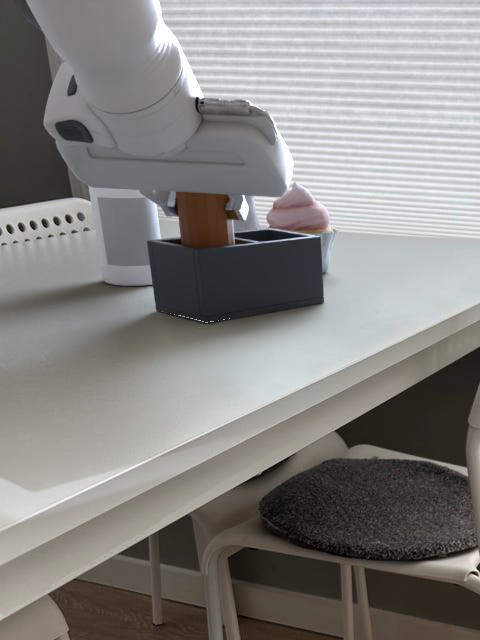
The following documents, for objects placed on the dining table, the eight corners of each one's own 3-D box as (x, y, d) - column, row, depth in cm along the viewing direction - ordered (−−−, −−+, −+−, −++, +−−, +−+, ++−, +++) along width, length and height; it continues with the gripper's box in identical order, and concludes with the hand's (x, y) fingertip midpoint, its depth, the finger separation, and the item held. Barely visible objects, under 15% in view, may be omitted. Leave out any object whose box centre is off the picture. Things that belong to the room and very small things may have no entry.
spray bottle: (132, 289, 104) (104, 101, 95) (90, 281, 107) (60, 98, 98) (179, 281, 109) (157, 102, 100) (138, 273, 112) (113, 99, 103)
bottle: (178, 302, 95) (158, 133, 88) (218, 296, 99) (202, 133, 91) (209, 310, 92) (191, 136, 85) (250, 303, 96) (236, 136, 88)
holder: (155, 310, 95) (146, 240, 92) (274, 291, 106) (269, 227, 102) (206, 323, 91) (198, 250, 88) (324, 302, 102) (321, 236, 98)
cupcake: (288, 262, 123) (283, 177, 118) (352, 269, 120) (349, 182, 115) (248, 273, 115) (240, 182, 110) (315, 280, 112) (310, 187, 107)
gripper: (273, 71, 78) (317, 190, 91) (43, 63, 81) (118, 180, 94) (258, 134, 76) (305, 246, 90) (24, 124, 79) (103, 235, 92)
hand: (208, 213), depth 92 cm, fingers closed on bottle, 5 cm apart
